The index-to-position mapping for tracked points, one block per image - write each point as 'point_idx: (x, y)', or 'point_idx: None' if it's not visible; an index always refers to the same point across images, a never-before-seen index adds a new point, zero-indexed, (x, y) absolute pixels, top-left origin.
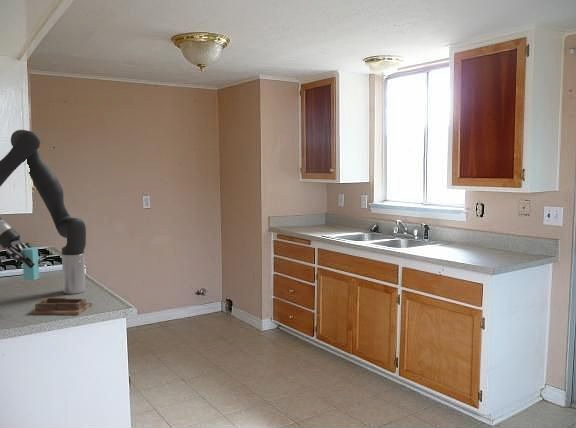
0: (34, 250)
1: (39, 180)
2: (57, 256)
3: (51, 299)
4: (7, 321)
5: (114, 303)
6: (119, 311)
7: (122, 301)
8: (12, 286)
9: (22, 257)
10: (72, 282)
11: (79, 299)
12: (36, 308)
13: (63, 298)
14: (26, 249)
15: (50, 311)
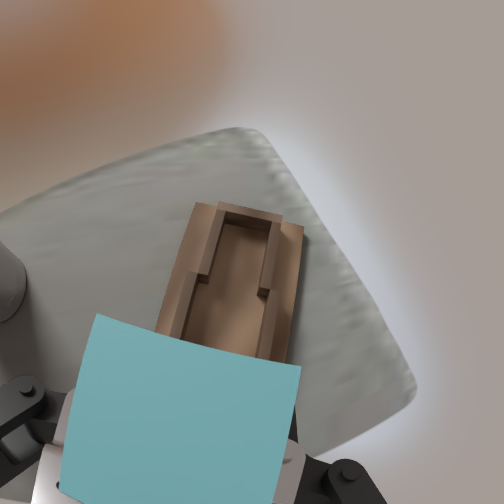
0: (219, 354)
1: None
2: None
3: (183, 329)
4: (346, 433)
5: (184, 158)
6: (270, 145)
7: (169, 144)
8: None
9: (353, 464)
10: (3, 271)
11: (222, 220)
12: None
13: (192, 279)
14: (260, 486)
15: (286, 315)
